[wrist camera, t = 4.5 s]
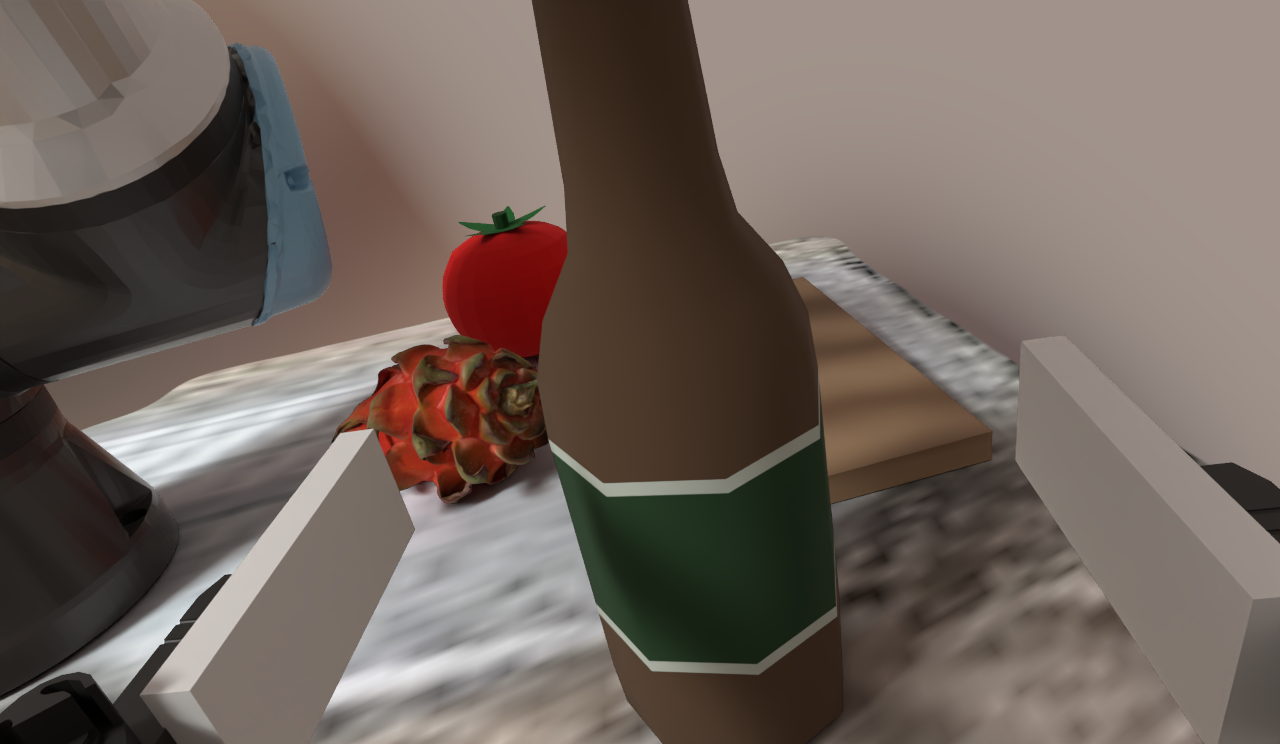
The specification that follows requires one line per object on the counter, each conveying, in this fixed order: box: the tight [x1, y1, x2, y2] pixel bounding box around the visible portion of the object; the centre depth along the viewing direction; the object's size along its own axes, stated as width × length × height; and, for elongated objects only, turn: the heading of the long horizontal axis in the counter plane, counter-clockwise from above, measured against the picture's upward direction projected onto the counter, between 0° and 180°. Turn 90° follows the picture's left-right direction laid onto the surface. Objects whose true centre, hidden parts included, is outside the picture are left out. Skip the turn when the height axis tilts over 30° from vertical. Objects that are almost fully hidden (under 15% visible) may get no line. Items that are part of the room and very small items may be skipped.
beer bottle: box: [532, 0, 843, 744], centre depth 20 cm, size 8×8×24 cm
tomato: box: [443, 206, 568, 357], centre depth 52 cm, size 10×10×10 cm
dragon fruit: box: [331, 335, 549, 503], centre depth 39 cm, size 8×8×12 cm
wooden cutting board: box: [792, 277, 992, 504], centre depth 42 cm, size 22×14×2 cm, turn 11°
